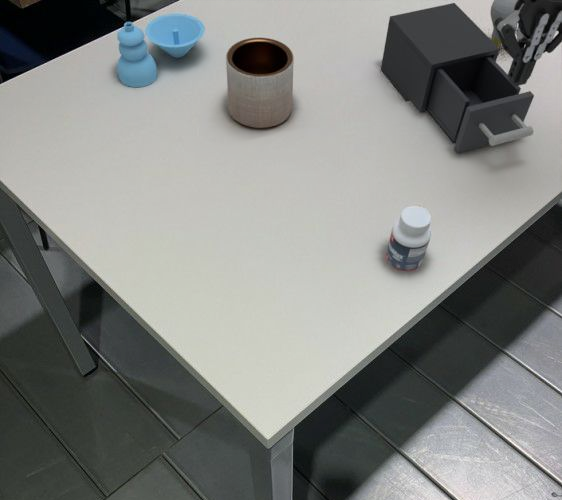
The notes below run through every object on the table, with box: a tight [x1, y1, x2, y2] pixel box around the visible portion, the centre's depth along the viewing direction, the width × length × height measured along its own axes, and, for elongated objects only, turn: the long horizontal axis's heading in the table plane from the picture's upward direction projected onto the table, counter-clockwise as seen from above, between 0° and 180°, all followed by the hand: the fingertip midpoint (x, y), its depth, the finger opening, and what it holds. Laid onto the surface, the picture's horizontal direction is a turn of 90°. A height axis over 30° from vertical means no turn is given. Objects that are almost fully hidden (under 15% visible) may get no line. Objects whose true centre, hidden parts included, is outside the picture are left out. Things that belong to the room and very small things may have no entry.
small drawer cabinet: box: [380, 2, 501, 114], centre depth 106 cm, size 15×13×10 cm
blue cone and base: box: [116, 13, 206, 88], centre depth 108 cm, size 18×10×9 cm, turn 136°
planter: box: [225, 37, 295, 129], centre depth 102 cm, size 11×11×10 cm
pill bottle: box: [385, 205, 432, 272], centre depth 85 cm, size 5×5×9 cm
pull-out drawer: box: [425, 56, 535, 155], centre depth 100 cm, size 18×11×8 cm, turn 22°
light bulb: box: [490, 0, 518, 48], centre depth 113 cm, size 5×6×10 cm
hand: (516, 82), depth 87 cm, fingers closed
